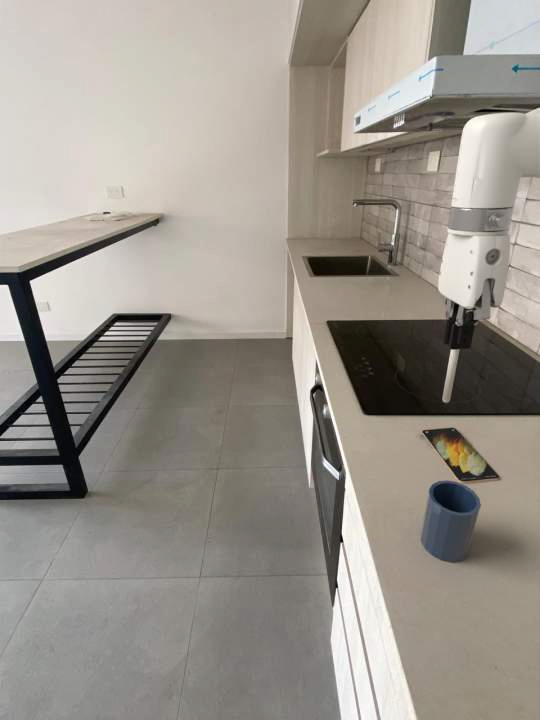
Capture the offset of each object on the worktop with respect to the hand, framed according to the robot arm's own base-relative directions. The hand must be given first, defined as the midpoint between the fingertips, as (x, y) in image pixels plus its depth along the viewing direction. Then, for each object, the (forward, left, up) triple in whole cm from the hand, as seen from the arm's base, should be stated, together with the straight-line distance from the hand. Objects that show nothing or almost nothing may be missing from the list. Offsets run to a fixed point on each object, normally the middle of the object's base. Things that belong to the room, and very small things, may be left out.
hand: (456, 345), depth 61 cm
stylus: (0, 0, -11) cm, 11 cm away
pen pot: (+7, +17, -23) cm, 29 cm away
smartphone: (-5, -2, -23) cm, 24 cm away
